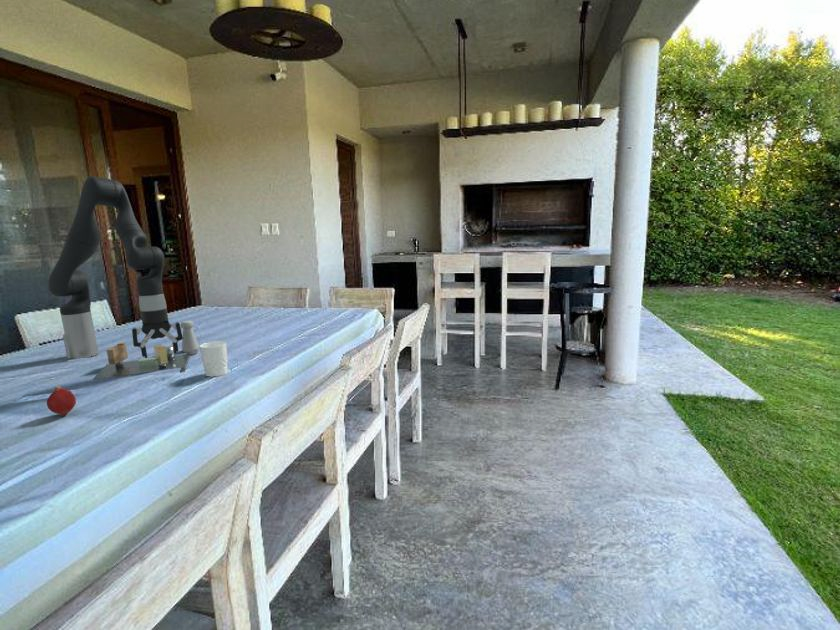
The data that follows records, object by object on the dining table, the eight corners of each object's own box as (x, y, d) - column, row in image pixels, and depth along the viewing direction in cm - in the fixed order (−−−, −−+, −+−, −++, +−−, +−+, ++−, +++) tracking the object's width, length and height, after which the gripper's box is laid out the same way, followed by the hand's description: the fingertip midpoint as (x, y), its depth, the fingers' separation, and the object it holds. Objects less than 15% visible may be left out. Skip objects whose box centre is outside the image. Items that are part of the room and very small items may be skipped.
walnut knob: (116, 369, 148) (113, 348, 147) (109, 369, 148) (105, 348, 147) (129, 362, 155) (125, 342, 154) (122, 363, 155) (118, 343, 154)
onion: (60, 411, 118) (54, 383, 117) (83, 409, 119) (77, 381, 117) (44, 420, 113) (38, 391, 111) (68, 419, 113) (62, 389, 112)
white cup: (234, 370, 148) (231, 341, 146) (217, 378, 141) (213, 348, 139) (216, 369, 150) (212, 340, 148) (198, 376, 143) (193, 346, 141)
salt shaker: (192, 356, 167) (187, 322, 164) (179, 356, 168) (174, 322, 165) (202, 352, 172) (198, 319, 170) (189, 351, 173) (185, 319, 171)
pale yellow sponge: (155, 365, 151) (152, 344, 150) (163, 363, 153) (160, 343, 152) (161, 369, 146) (158, 348, 145) (169, 367, 148) (166, 346, 147)
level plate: (93, 384, 139) (89, 367, 138) (107, 368, 156) (105, 353, 155) (185, 371, 149) (182, 355, 148) (190, 357, 165) (187, 343, 164)
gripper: (176, 304, 153) (183, 349, 156) (127, 309, 145) (135, 356, 148) (178, 306, 146) (185, 354, 150) (127, 312, 139) (136, 362, 142)
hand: (160, 355), depth 149 cm, fingers open, 8 cm apart
